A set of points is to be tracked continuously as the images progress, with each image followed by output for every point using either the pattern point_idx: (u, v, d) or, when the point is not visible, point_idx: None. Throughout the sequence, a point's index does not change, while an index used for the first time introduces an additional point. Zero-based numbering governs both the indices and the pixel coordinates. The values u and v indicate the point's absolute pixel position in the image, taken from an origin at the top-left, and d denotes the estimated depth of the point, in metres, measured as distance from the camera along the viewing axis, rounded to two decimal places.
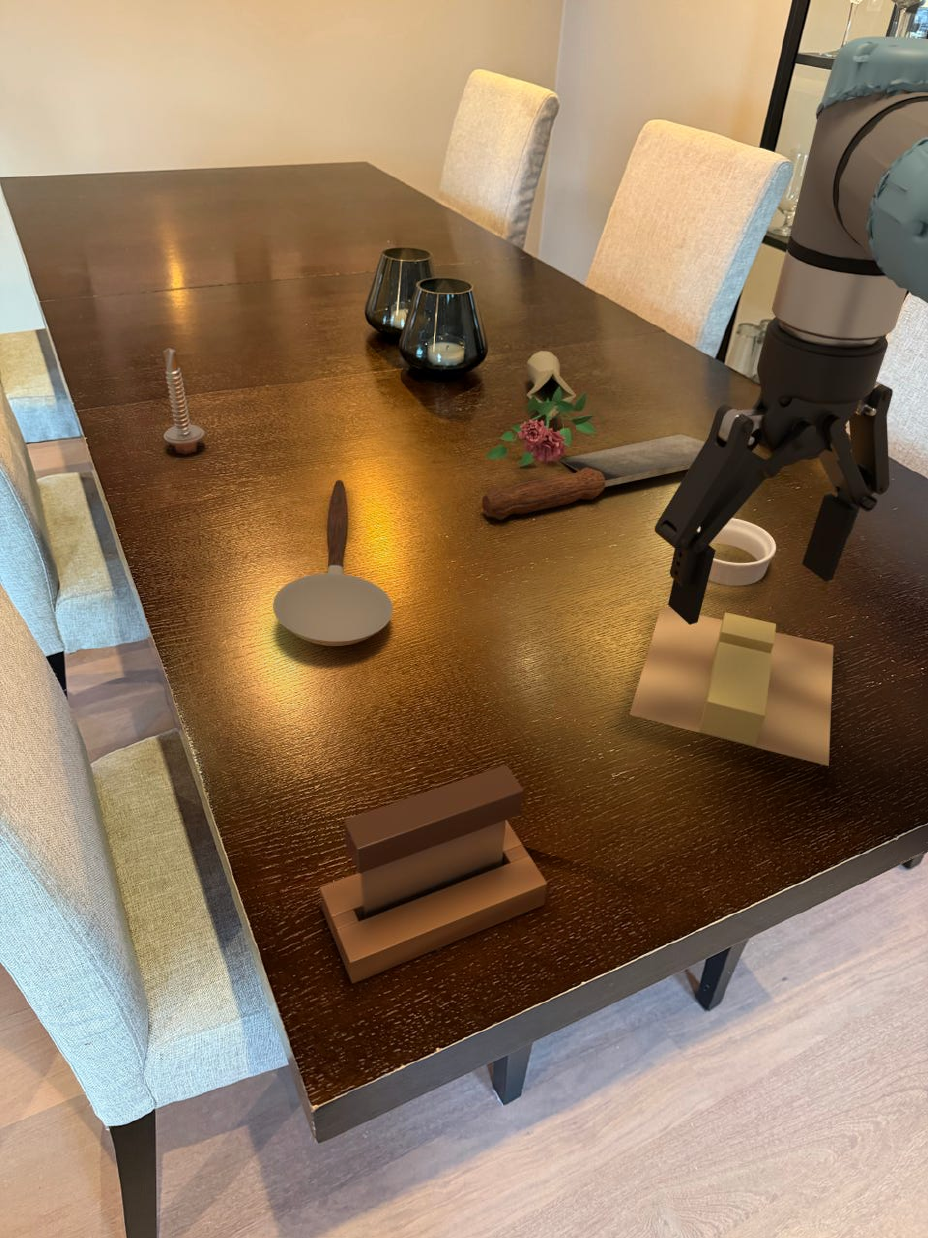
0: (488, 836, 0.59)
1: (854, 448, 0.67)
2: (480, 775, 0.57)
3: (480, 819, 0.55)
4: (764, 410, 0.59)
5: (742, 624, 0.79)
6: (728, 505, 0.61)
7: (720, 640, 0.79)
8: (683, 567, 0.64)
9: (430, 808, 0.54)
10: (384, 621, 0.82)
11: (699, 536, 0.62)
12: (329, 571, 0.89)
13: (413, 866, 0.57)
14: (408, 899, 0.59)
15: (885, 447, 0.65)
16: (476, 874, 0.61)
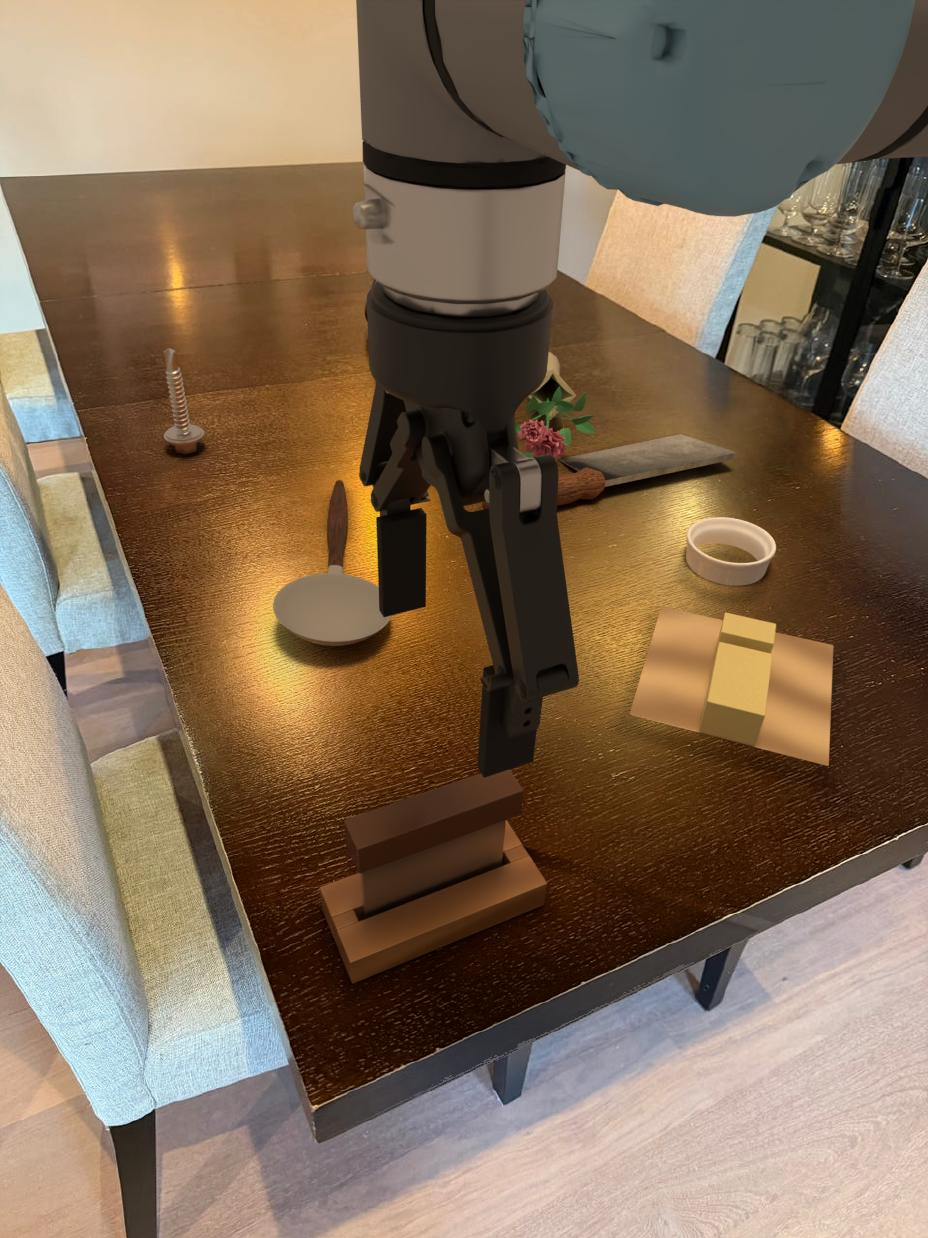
0: (488, 836, 0.59)
1: (380, 446, 0.47)
2: (480, 775, 0.57)
3: (480, 819, 0.55)
4: (492, 442, 0.36)
5: (742, 624, 0.79)
6: None
7: (720, 640, 0.79)
8: (539, 706, 0.40)
9: (430, 808, 0.54)
10: (384, 621, 0.82)
11: None
12: (329, 571, 0.89)
13: (413, 866, 0.57)
14: (408, 899, 0.59)
15: None
16: (476, 874, 0.61)
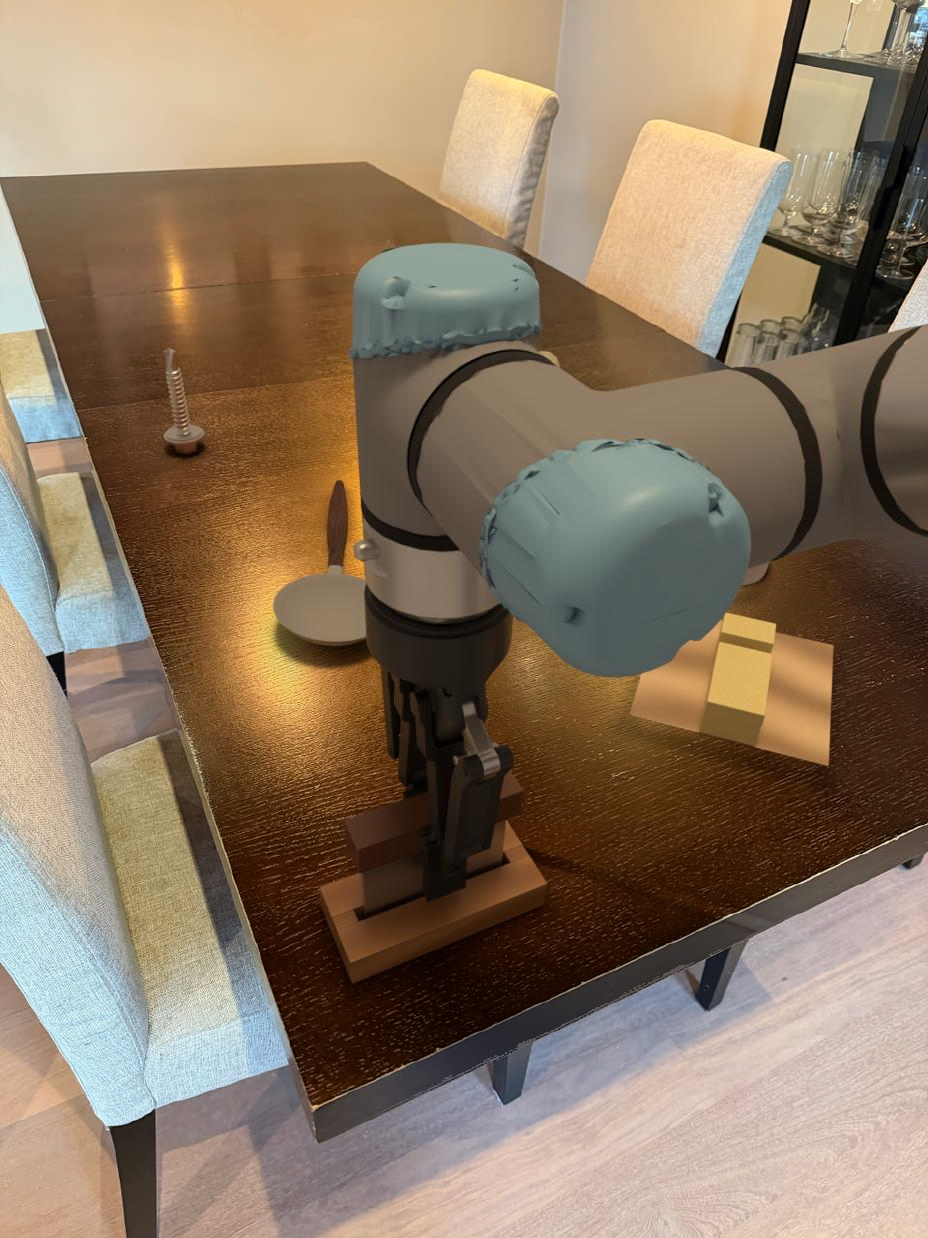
0: None
1: (396, 712, 0.54)
2: None
3: None
4: (468, 714, 0.45)
5: (742, 624, 0.79)
6: None
7: (720, 640, 0.79)
8: None
9: None
10: None
11: None
12: (329, 571, 0.89)
13: (413, 866, 0.57)
14: (408, 899, 0.59)
15: None
16: (476, 874, 0.61)
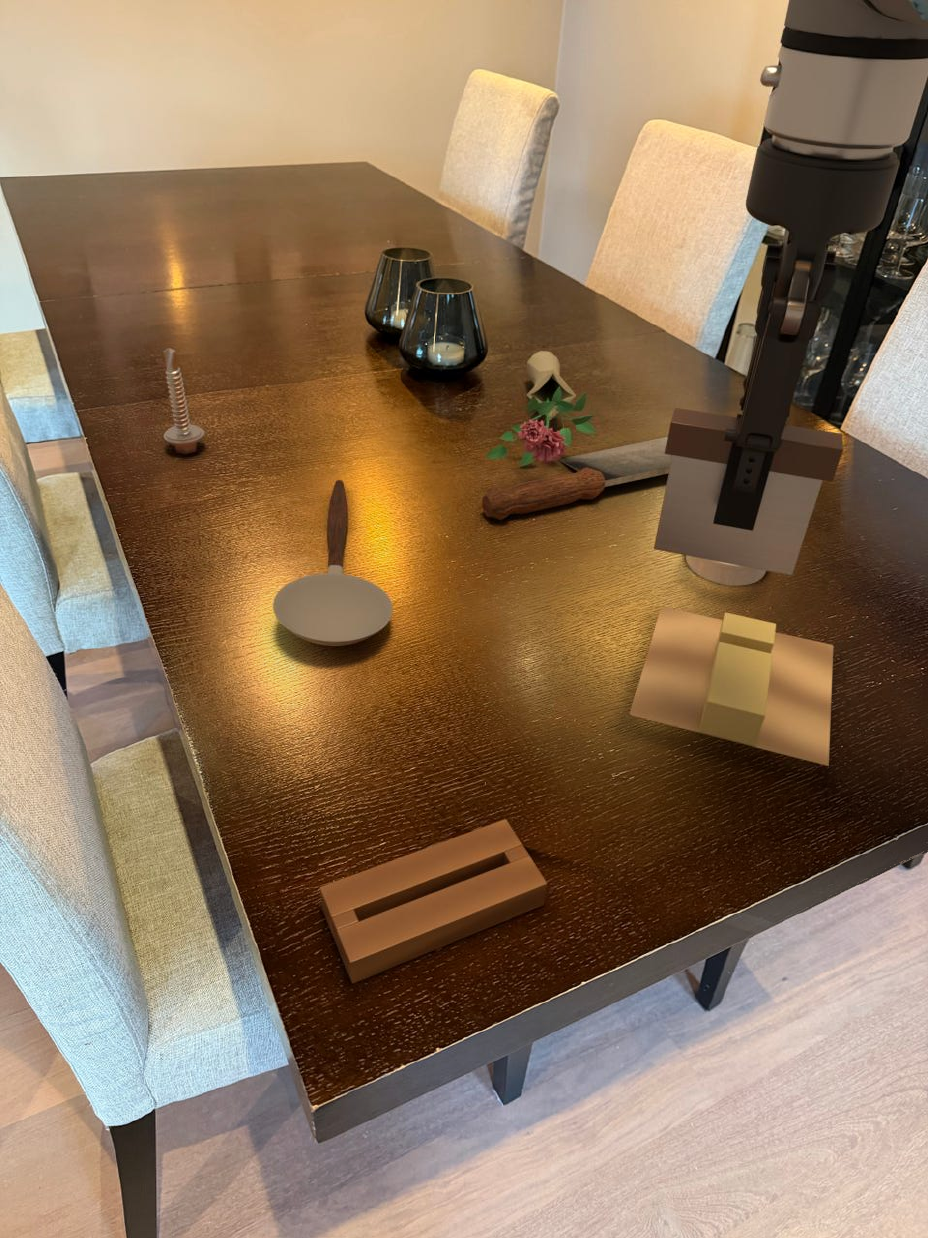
0: (796, 501, 0.61)
1: None
2: (811, 429, 0.59)
3: (790, 460, 0.58)
4: (800, 270, 0.49)
5: (742, 624, 0.79)
6: None
7: (720, 640, 0.79)
8: (758, 471, 0.58)
9: None
10: (384, 621, 0.82)
11: None
12: (329, 571, 0.89)
13: (716, 490, 0.62)
14: (700, 529, 0.65)
15: None
16: (771, 544, 0.64)
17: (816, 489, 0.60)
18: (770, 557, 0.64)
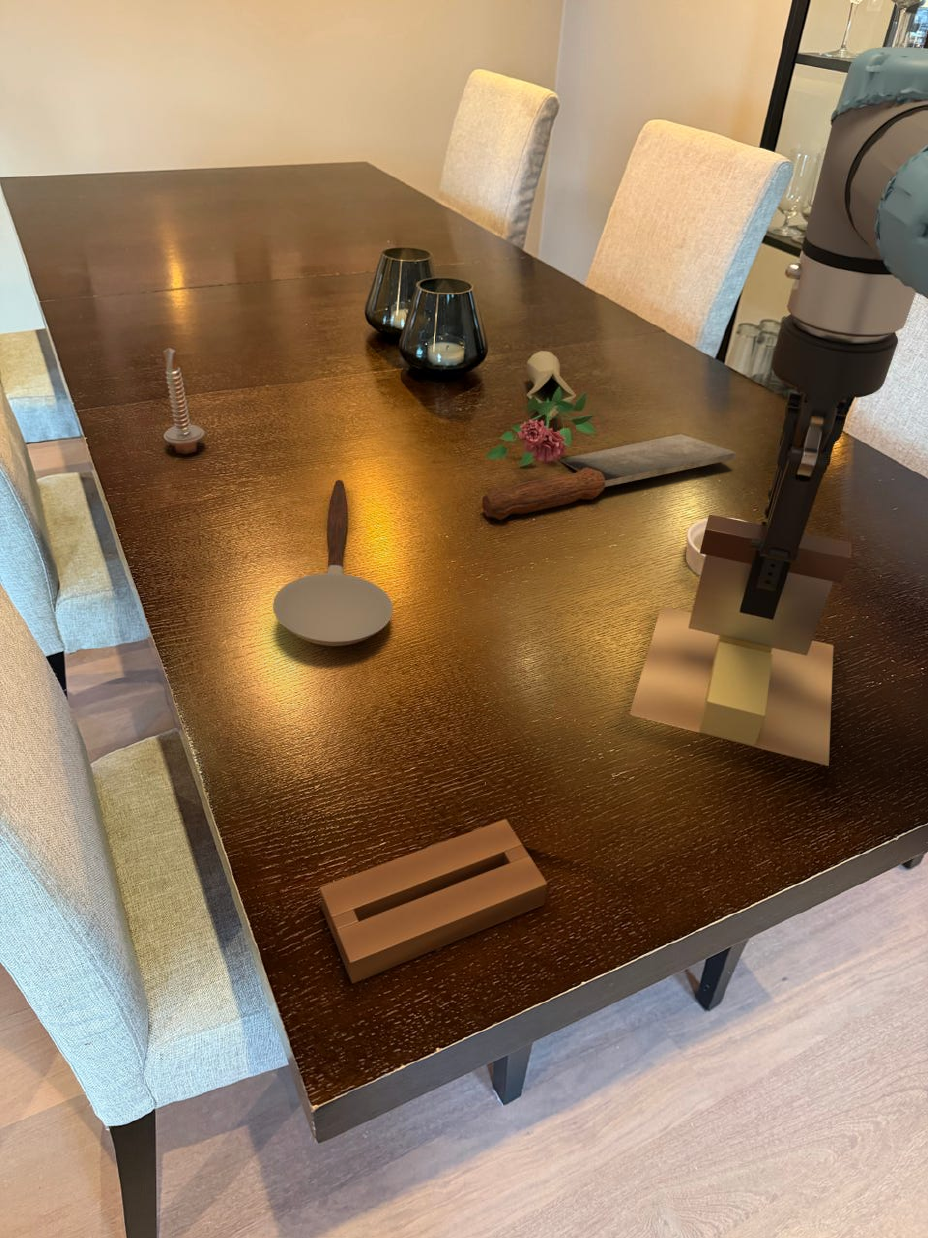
0: (811, 596, 0.72)
1: None
2: (825, 538, 0.70)
3: (805, 564, 0.69)
4: (814, 424, 0.60)
5: None
6: None
7: (720, 640, 0.79)
8: (778, 574, 0.69)
9: None
10: (384, 621, 0.82)
11: None
12: (329, 571, 0.89)
13: (742, 583, 0.73)
14: (728, 614, 0.76)
15: None
16: (789, 629, 0.74)
17: (828, 587, 0.71)
18: (788, 639, 0.75)
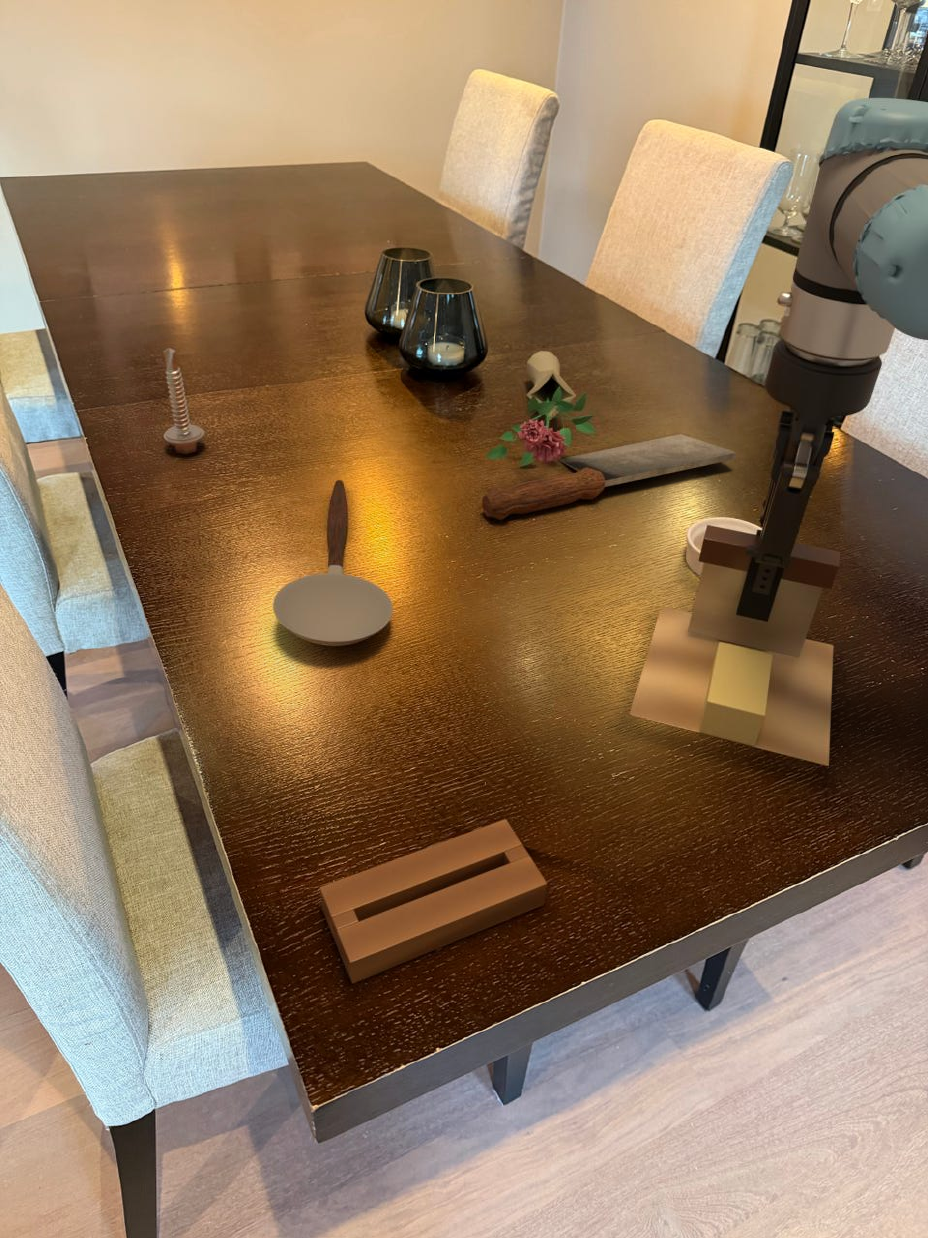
0: (802, 602, 0.77)
1: None
2: (815, 547, 0.75)
3: (797, 571, 0.74)
4: (805, 440, 0.65)
5: None
6: None
7: None
8: (772, 579, 0.73)
9: None
10: (384, 621, 0.82)
11: None
12: (329, 571, 0.89)
13: (738, 589, 0.78)
14: (725, 619, 0.80)
15: None
16: (783, 633, 0.79)
17: (818, 593, 0.76)
18: (782, 643, 0.80)
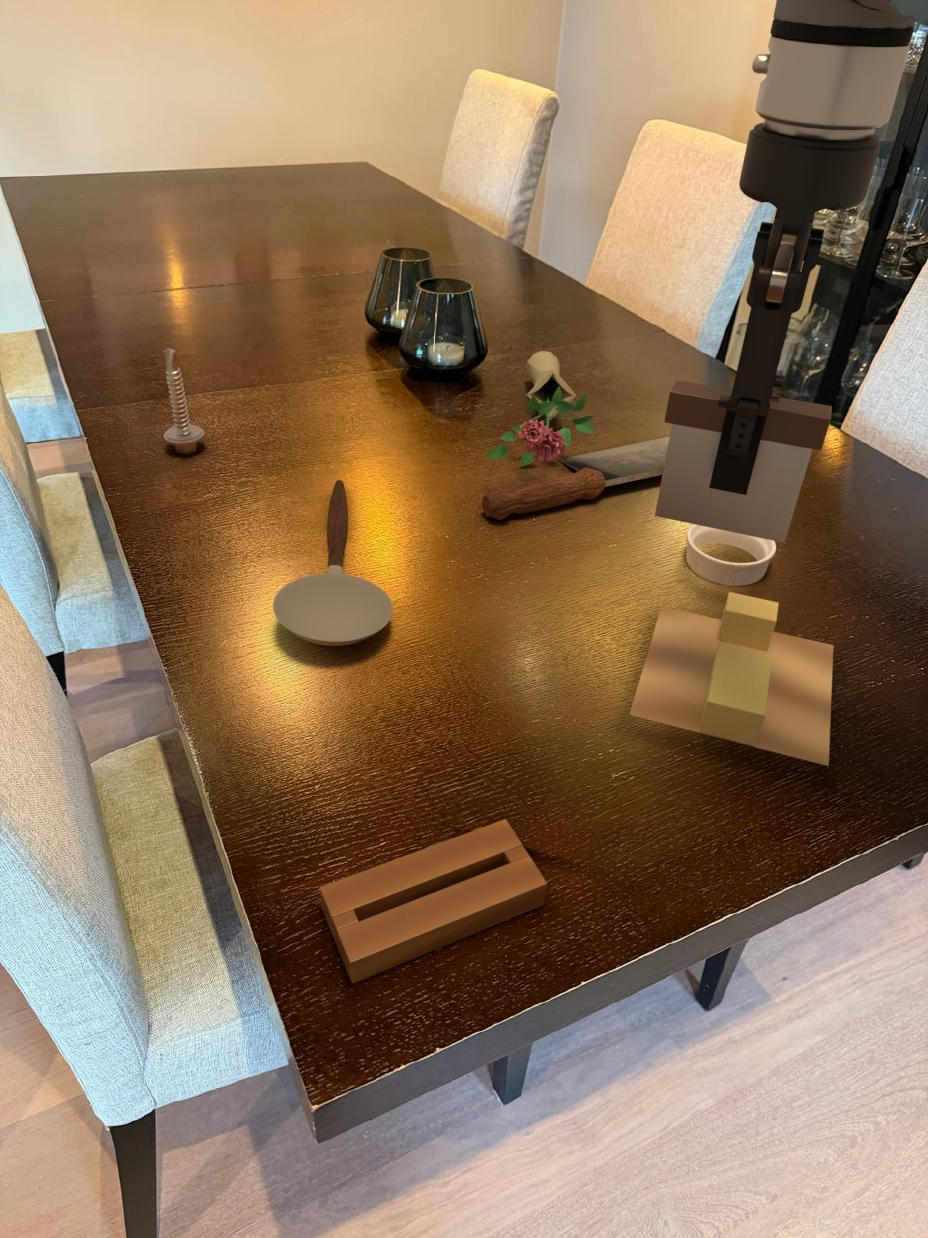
0: (788, 470, 0.65)
1: None
2: (803, 401, 0.63)
3: (781, 429, 0.62)
4: (786, 243, 0.53)
5: (746, 603, 0.81)
6: None
7: (724, 618, 0.81)
8: (749, 436, 0.61)
9: None
10: (384, 621, 0.82)
11: None
12: (329, 571, 0.89)
13: (712, 458, 0.66)
14: (698, 497, 0.69)
15: None
16: (765, 512, 0.67)
17: (806, 458, 0.64)
18: (764, 524, 0.68)
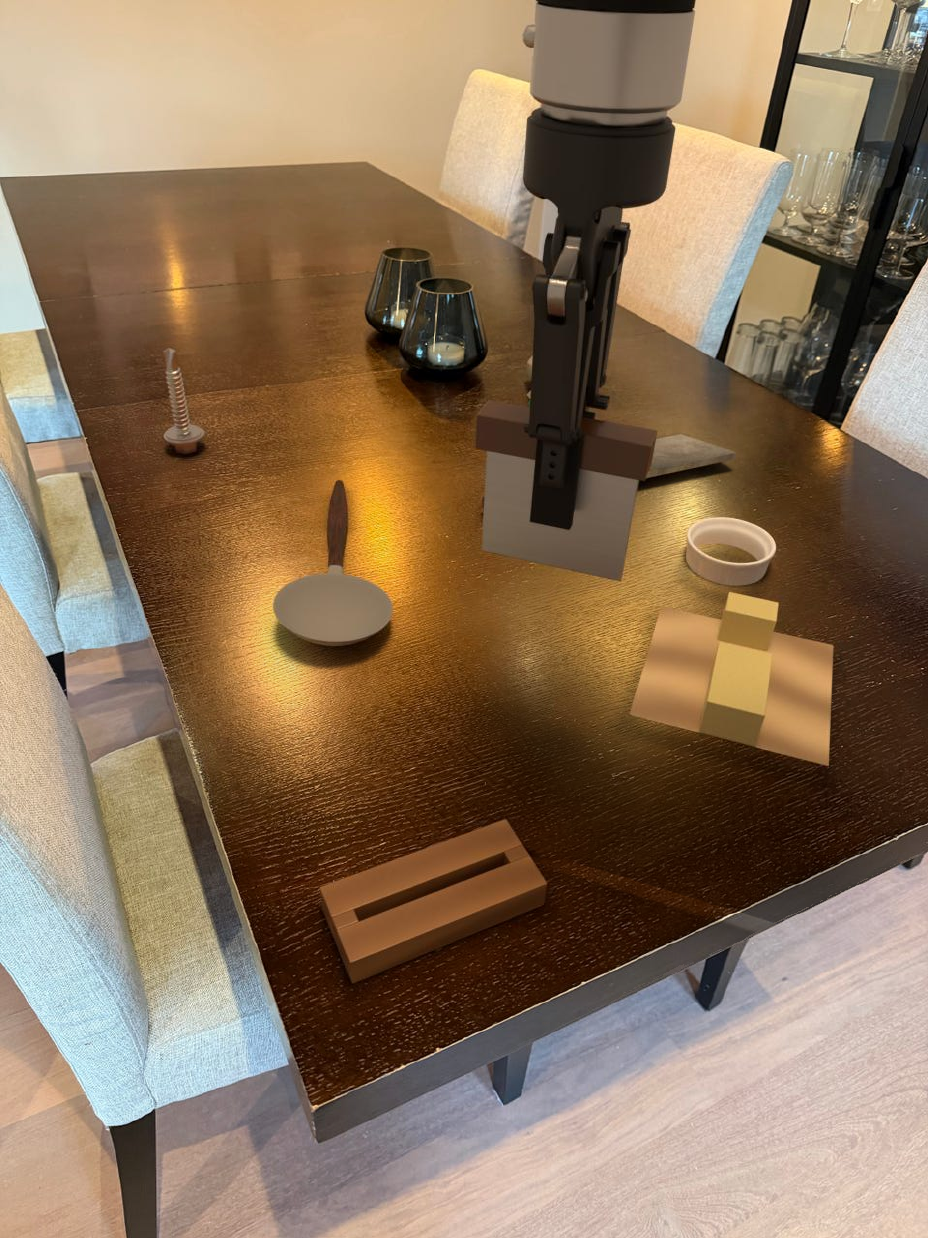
0: (615, 502, 0.57)
1: None
2: (625, 425, 0.55)
3: (599, 457, 0.55)
4: (570, 246, 0.46)
5: (746, 603, 0.81)
6: (583, 381, 0.51)
7: (724, 618, 0.81)
8: (561, 466, 0.54)
9: None
10: (384, 621, 0.82)
11: None
12: (329, 571, 0.89)
13: None
14: (524, 531, 0.61)
15: (614, 314, 0.56)
16: (596, 548, 0.60)
17: (633, 489, 0.56)
18: (597, 561, 0.60)
